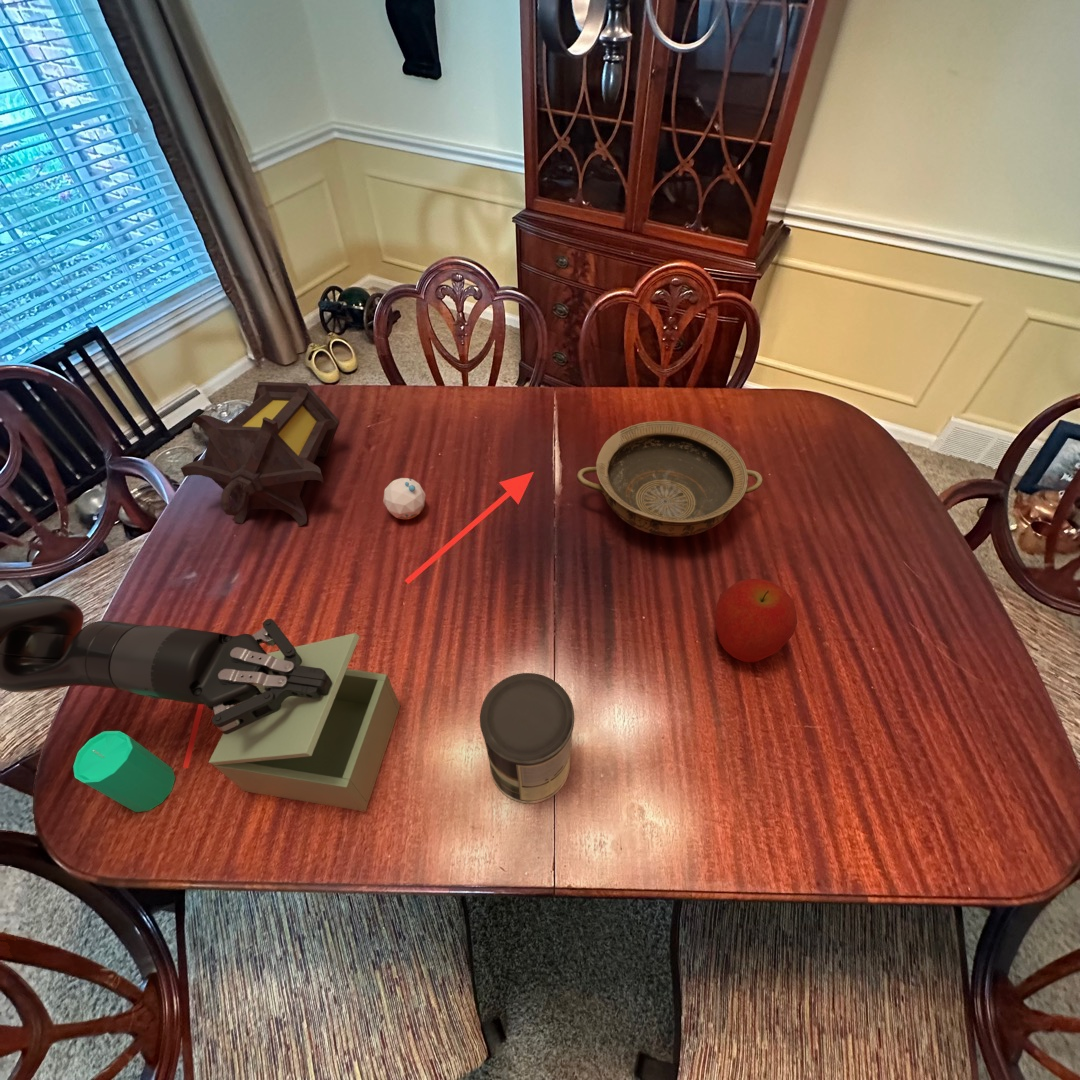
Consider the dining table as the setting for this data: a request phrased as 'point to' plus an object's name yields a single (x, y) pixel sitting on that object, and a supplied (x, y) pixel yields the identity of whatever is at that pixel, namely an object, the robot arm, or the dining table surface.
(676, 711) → the dining table surface
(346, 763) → the chest
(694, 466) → the ceramic bowl
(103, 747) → the candle
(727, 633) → the apple
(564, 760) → the coffee can
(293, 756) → the lid
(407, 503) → the ornament
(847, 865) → the dining table surface
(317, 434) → the lantern
